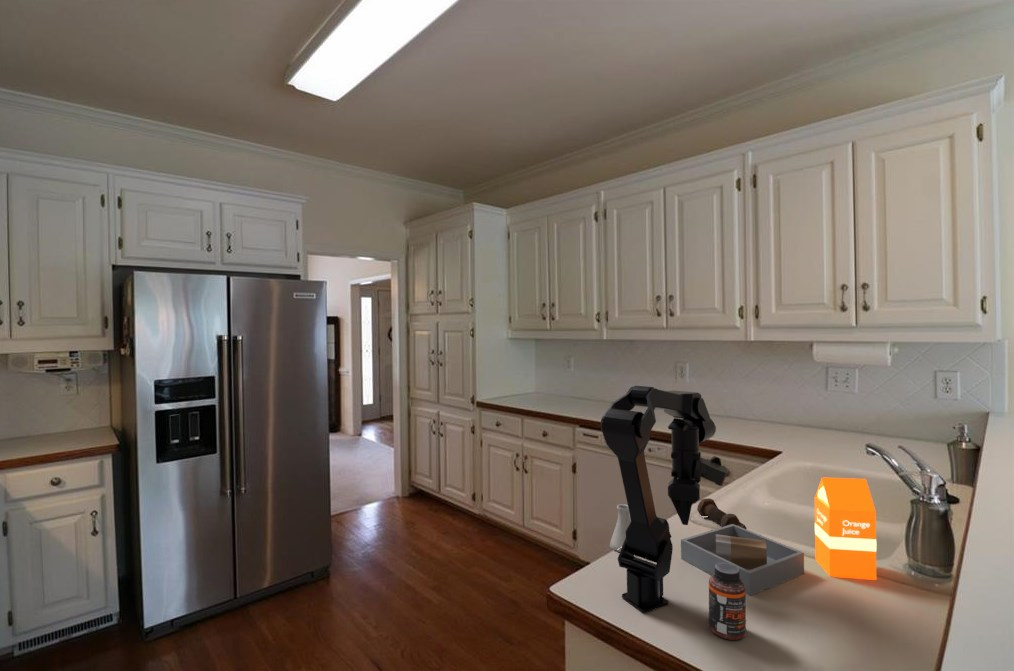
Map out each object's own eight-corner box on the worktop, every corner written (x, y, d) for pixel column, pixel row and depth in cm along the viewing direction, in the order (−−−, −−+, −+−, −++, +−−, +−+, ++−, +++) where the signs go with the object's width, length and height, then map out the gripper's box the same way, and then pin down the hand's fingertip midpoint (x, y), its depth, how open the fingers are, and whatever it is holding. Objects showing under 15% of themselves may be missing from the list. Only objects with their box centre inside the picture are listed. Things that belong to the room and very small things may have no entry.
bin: (749, 595, 97) (749, 573, 96) (681, 558, 112) (680, 539, 112) (804, 573, 105) (803, 552, 104) (732, 541, 120) (732, 523, 120)
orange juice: (814, 559, 111) (813, 472, 110) (858, 562, 109) (857, 473, 108) (830, 577, 103) (829, 483, 103) (877, 580, 101) (876, 485, 101)
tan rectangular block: (767, 571, 105) (766, 548, 104) (716, 563, 108) (716, 541, 108) (765, 563, 108) (764, 540, 108) (716, 555, 112) (715, 534, 112)
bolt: (739, 545, 122) (703, 520, 137) (754, 534, 123) (716, 510, 138) (729, 527, 121) (693, 504, 136) (744, 515, 122) (707, 493, 137)
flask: (616, 538, 124) (615, 499, 124) (643, 545, 120) (643, 504, 120) (604, 549, 118) (603, 508, 118) (633, 556, 114) (632, 514, 114)
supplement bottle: (728, 646, 82) (727, 579, 82) (701, 626, 87) (700, 563, 87) (754, 636, 84) (753, 571, 84) (726, 617, 90) (725, 556, 90)
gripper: (725, 461, 97) (726, 539, 97) (723, 440, 114) (724, 506, 114) (667, 457, 101) (668, 531, 102) (673, 437, 118) (674, 500, 119)
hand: (686, 516), depth 109 cm, fingers open, 9 cm apart
